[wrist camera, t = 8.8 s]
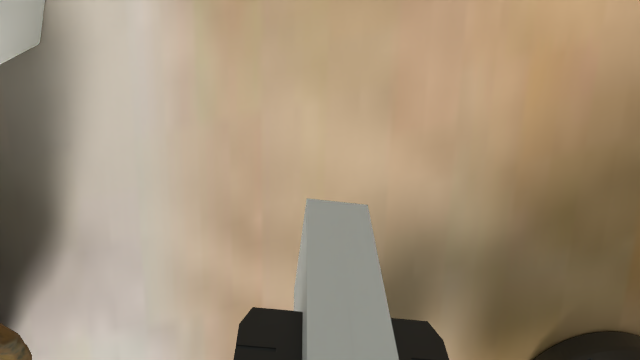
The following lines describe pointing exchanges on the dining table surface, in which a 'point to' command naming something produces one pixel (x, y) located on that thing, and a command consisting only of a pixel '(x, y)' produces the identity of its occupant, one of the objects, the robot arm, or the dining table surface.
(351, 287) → the robot arm
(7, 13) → the medicine bottle
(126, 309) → the dining table surface
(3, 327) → the brown cowboy hat
